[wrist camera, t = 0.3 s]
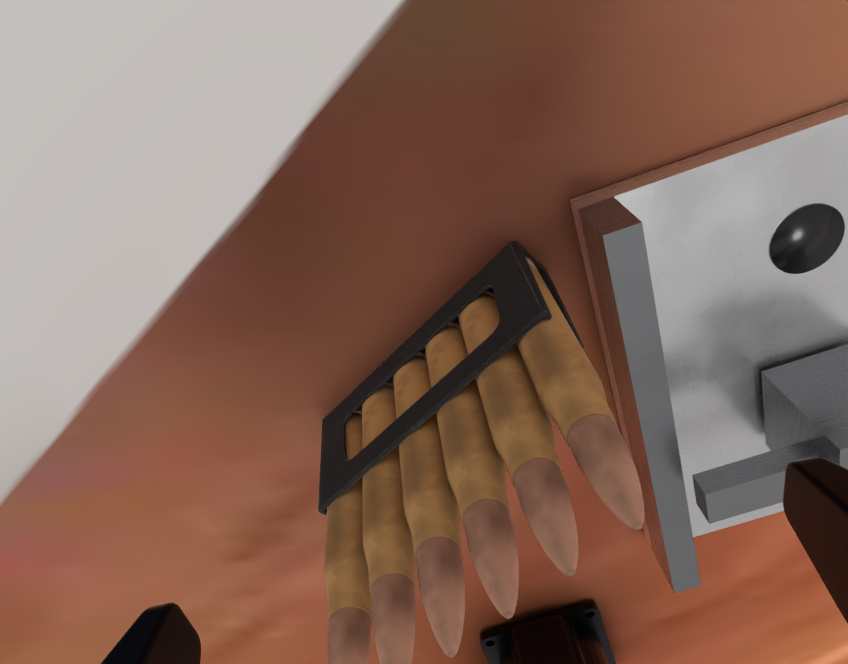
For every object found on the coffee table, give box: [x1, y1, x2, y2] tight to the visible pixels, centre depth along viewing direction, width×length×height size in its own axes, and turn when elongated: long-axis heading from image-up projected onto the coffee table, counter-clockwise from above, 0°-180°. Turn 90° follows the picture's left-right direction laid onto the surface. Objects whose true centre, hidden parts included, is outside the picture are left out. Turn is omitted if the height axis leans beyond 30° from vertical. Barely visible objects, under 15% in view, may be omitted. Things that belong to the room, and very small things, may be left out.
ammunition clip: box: [318, 242, 644, 664], centre depth 19 cm, size 11×2×12 cm, turn 136°
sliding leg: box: [692, 344, 848, 524], centre depth 23 cm, size 4×8×5 cm, turn 109°
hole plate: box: [570, 101, 848, 593], centre depth 24 cm, size 18×13×3 cm
